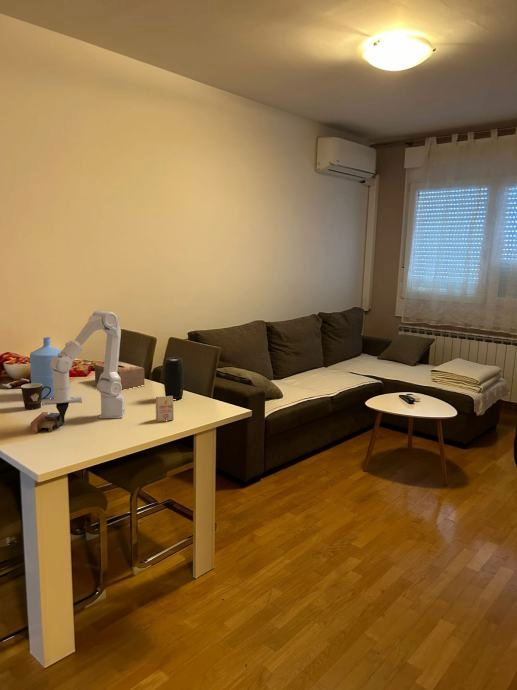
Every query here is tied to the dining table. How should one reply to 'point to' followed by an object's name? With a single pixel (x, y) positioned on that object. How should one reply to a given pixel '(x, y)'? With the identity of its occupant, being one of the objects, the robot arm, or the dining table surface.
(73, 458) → the dining table surface
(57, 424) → the open storage bin
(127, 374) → the tissue box cover
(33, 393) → the coffee mug
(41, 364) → the water jug
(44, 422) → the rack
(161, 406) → the small printed carton
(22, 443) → the dining table surface
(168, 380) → the portable speaker
